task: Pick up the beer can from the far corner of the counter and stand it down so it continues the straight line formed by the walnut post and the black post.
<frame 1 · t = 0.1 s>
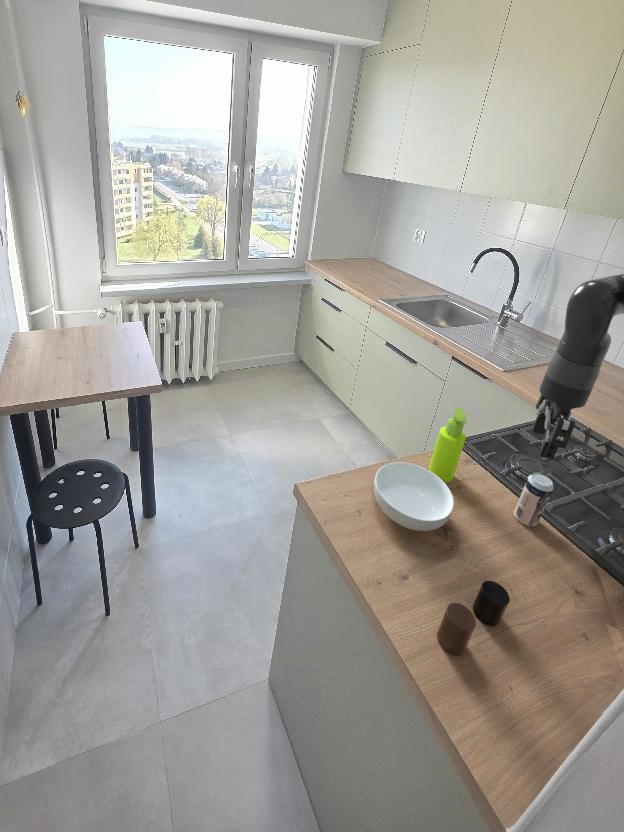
hand: (541, 444, 87), 22 cm above the counter, tool pointing down, fingers open, 8 cm apart
cereal bowl: (407, 511, 97), on the counter
walnut post: (450, 641, 72), on the counter
beer can: (524, 519, 96), on the counter
black post: (486, 613, 76), on the counter
soap dispenser: (440, 475, 108), on the counter
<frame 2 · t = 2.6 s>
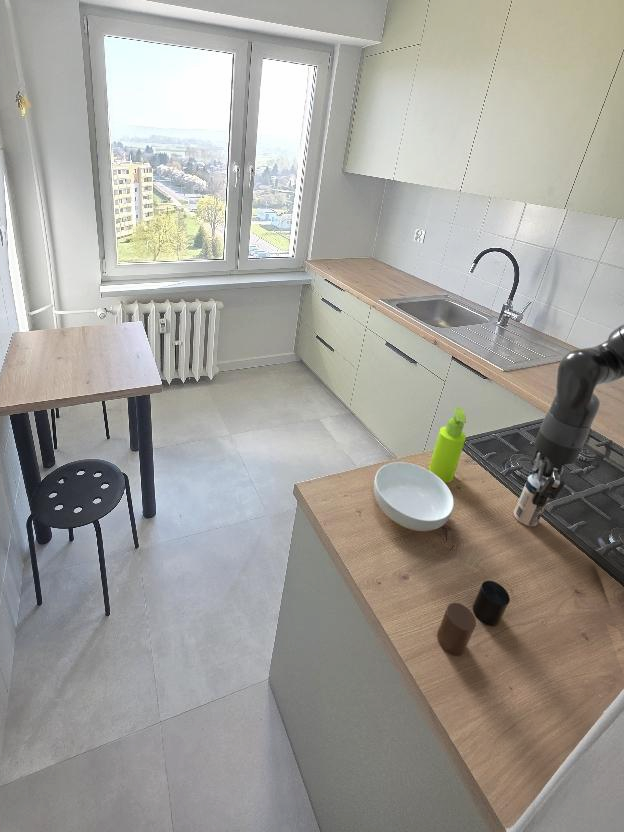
hand: (535, 495, 93), 7 cm above the counter, tool pointing down, fingers closed on beer can, 4 cm apart
beer can: (524, 519, 96), on the counter, touching gripper
everything else where it was.
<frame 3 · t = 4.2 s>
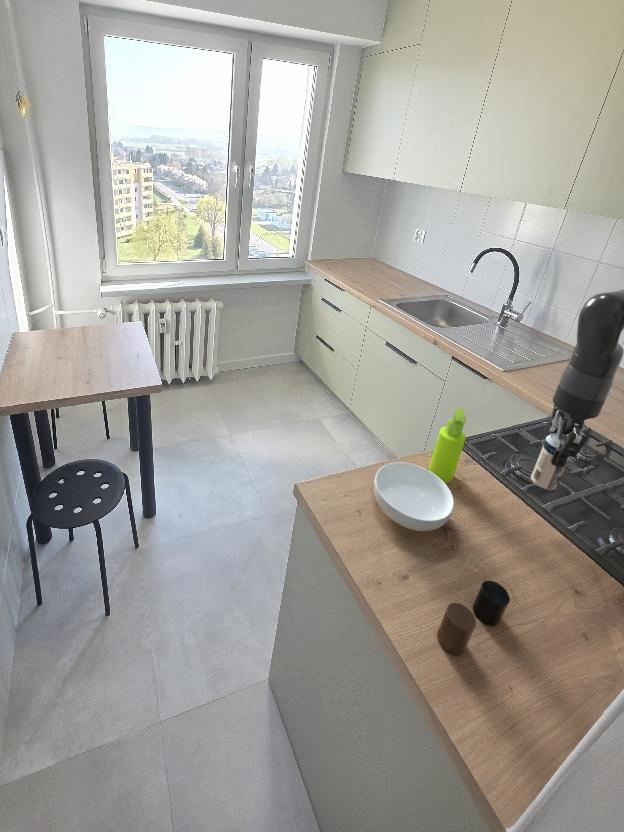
hand: (554, 456, 88), 19 cm above the counter, tool pointing down, fingers closed on beer can, 4 cm apart
beer can: (542, 483, 91), point 11 cm above the counter, touching gripper
everything else where it was.
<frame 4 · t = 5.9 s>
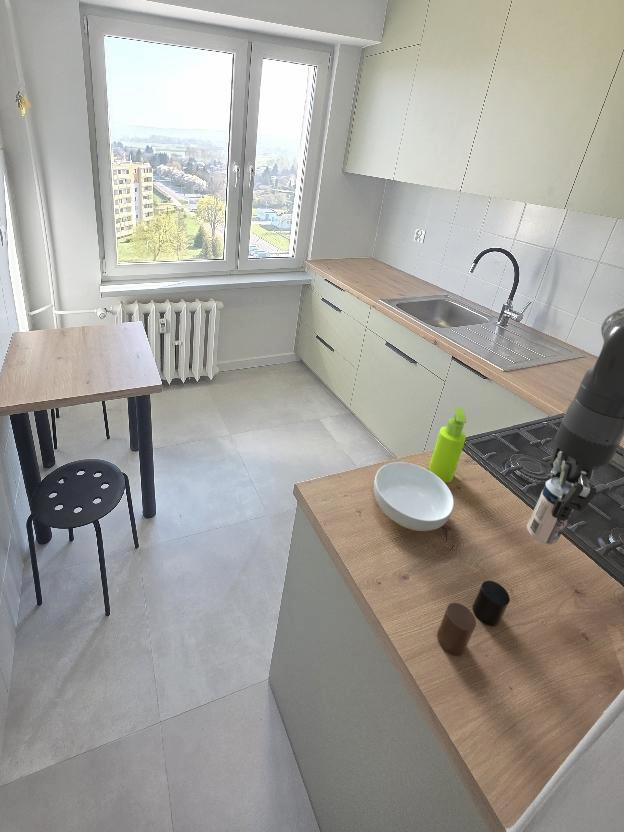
hand: (555, 505, 74), 21 cm above the counter, tool pointing down, fingers closed on beer can, 4 cm apart
beer can: (540, 535, 77), point 13 cm above the counter, touching gripper
everything else where it was.
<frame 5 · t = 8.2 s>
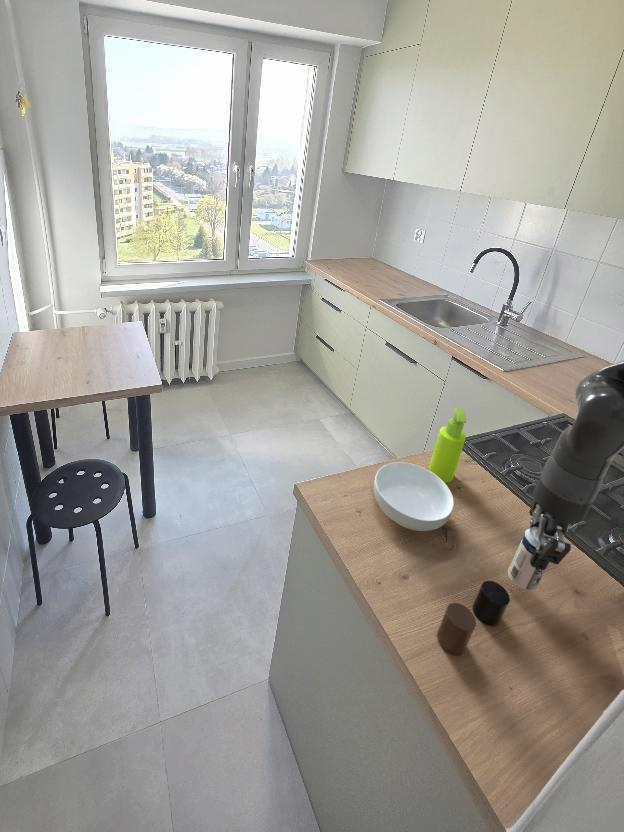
hand: (534, 553, 77), 10 cm above the counter, tool pointing down, fingers closed on beer can, 4 cm apart
beer can: (520, 580, 80), point 2 cm above the counter, touching gripper
everything else where it was.
when the fingers open (7 cm above the counter, at t = 9.4 s): beer can stays where it is, on the counter.
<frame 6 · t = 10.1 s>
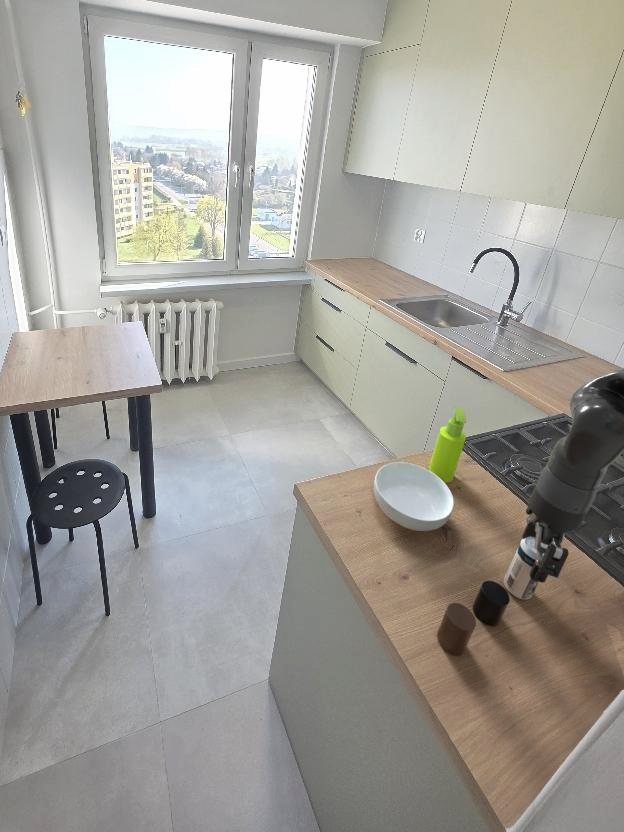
hand: (532, 559, 77), 9 cm above the counter, tool pointing down, fingers open, 8 cm apart
beer can: (516, 589, 81), on the counter
everything else where it was.
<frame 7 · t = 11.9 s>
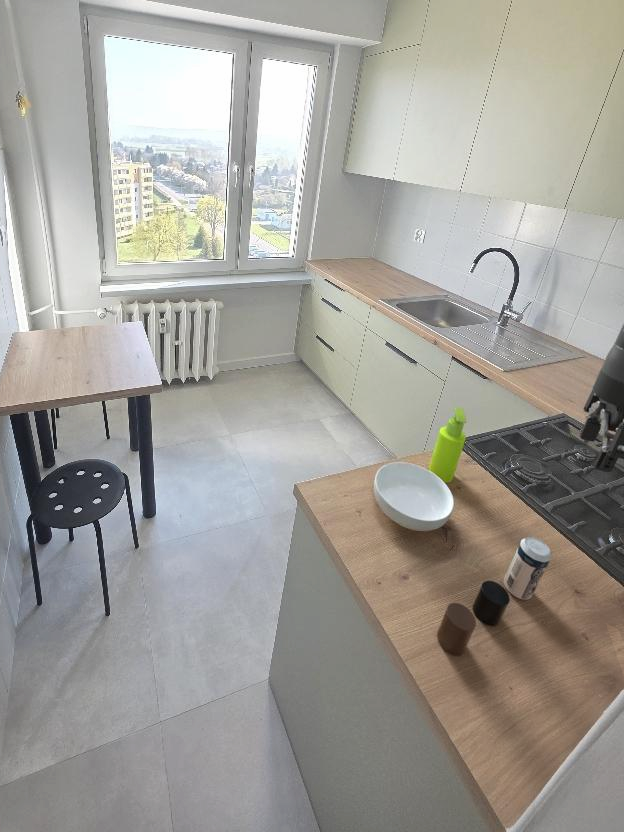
hand: (593, 453, 73), 30 cm above the counter, tool pointing down, fingers open, 8 cm apart
nothing on the counter moved.
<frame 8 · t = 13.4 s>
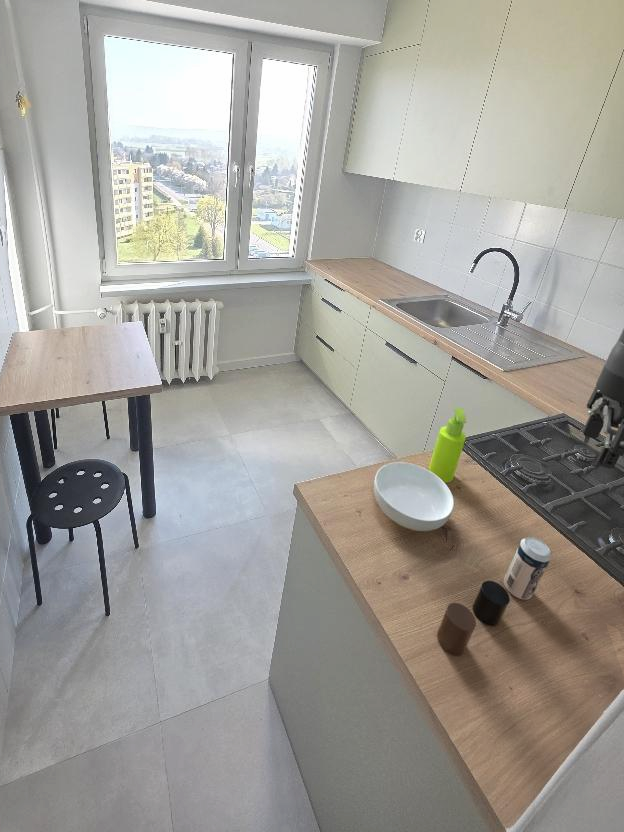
hand: (596, 450, 74), 30 cm above the counter, tool pointing down, fingers open, 8 cm apart
nothing on the counter moved.
at the end: beer can 0.1 cm from the target spot on the counter beside the walnut post, on the counter; beer can tilted 0°; the gripper is holding nothing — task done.
